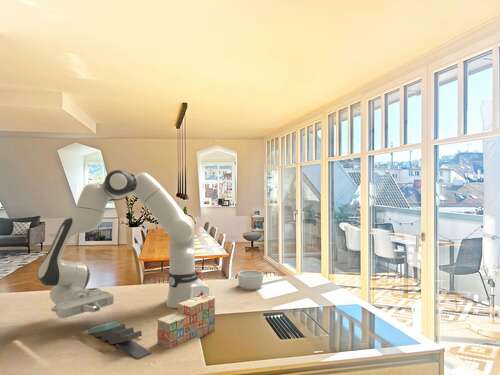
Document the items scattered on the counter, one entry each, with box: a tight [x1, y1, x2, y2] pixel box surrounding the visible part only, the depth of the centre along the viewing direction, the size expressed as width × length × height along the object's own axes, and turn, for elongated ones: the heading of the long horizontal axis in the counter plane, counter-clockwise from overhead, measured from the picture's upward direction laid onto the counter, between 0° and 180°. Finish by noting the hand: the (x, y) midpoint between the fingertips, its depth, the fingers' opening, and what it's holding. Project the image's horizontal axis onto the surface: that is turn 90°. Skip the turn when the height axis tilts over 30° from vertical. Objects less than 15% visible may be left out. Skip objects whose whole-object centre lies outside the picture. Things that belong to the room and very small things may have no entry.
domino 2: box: [94, 323, 127, 337], centre depth 133 cm, size 5×2×12 cm
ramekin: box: [237, 269, 264, 291], centre depth 198 cm, size 13×13×7 cm
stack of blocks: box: [156, 296, 216, 349], centre depth 136 cm, size 21×6×12 cm, turn 142°
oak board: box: [70, 329, 143, 355], centre depth 134 cm, size 14×22×1 cm, turn 50°
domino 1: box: [87, 320, 119, 334], centre depth 135 cm, size 5×2×12 cm
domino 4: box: [108, 330, 143, 345], centre depth 127 cm, size 5×2×12 cm
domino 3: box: [101, 326, 135, 341], centre depth 130 cm, size 5×2×12 cm
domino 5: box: [116, 340, 152, 360], centre depth 124 cm, size 5×2×12 cm
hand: (96, 309), depth 138 cm, fingers closed
